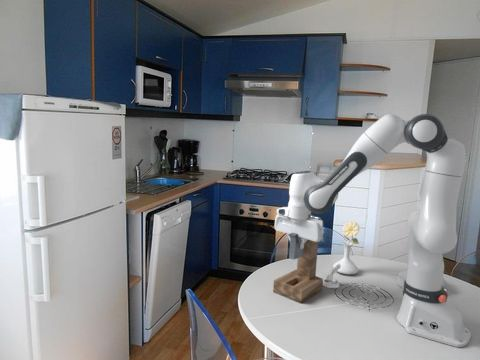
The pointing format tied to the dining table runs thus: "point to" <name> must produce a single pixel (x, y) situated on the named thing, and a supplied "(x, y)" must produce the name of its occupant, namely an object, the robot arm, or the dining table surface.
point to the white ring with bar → (331, 278)
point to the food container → (403, 277)
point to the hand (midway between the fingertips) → (296, 246)
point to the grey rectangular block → (295, 246)
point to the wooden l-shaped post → (301, 277)
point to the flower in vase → (348, 249)
